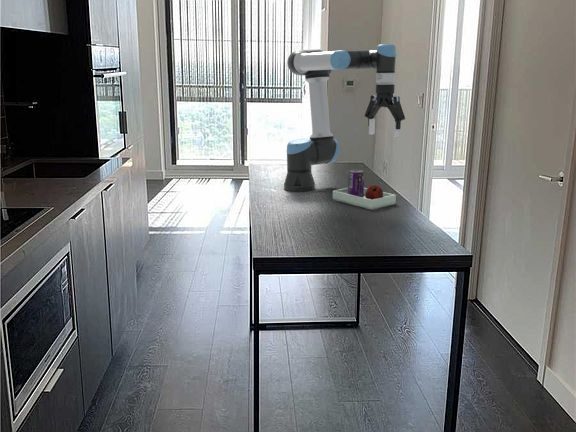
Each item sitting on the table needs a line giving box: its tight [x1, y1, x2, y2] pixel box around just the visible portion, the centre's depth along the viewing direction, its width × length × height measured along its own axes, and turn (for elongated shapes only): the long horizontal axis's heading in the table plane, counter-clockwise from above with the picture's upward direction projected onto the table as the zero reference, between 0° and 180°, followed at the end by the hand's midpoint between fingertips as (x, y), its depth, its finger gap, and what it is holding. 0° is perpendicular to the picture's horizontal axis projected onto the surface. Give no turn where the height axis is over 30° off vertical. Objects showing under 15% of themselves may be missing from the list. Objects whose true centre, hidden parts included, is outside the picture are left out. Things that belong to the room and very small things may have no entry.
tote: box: [332, 187, 397, 211], centre depth 244 cm, size 24×15×4 cm, turn 38°
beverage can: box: [347, 169, 365, 197], centre depth 247 cm, size 7×7×12 cm
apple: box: [365, 184, 384, 200], centre depth 238 cm, size 7×8×8 cm
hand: (383, 135), depth 235 cm, fingers open, 13 cm apart
